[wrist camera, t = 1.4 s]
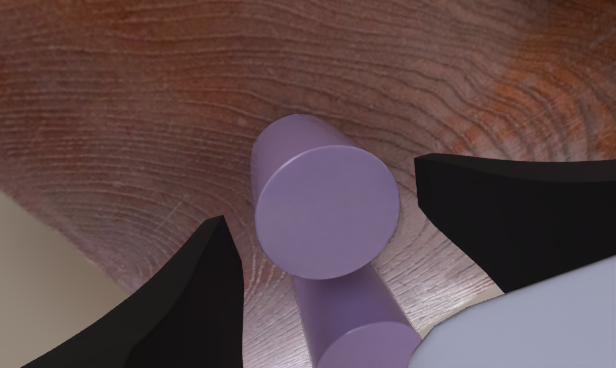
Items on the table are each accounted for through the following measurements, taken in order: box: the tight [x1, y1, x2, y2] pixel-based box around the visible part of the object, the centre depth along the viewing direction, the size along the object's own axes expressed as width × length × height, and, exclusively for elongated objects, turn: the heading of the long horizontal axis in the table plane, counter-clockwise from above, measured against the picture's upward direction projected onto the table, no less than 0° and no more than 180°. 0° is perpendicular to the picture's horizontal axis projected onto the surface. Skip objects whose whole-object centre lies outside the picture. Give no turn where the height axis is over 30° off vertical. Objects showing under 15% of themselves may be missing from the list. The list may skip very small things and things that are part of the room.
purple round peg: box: [294, 261, 422, 368], centre depth 17 cm, size 5×5×6 cm
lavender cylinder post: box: [249, 114, 400, 280], centre depth 14 cm, size 5×5×6 cm
